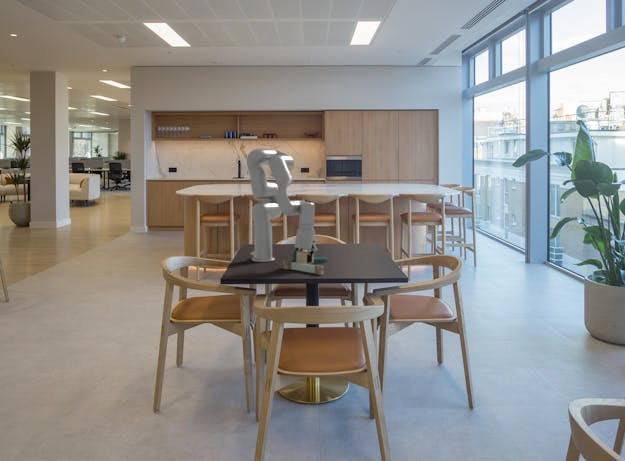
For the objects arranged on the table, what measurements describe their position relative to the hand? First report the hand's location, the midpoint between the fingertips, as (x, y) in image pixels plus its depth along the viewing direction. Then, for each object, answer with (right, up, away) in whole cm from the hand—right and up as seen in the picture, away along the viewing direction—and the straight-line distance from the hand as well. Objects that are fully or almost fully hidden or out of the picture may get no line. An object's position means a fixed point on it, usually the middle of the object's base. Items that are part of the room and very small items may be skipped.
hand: (305, 261), depth 297 cm
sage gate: (0, -4, -12) cm, 12 cm away
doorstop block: (0, -1, 0) cm, 1 cm away
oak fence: (-1, -4, -11) cm, 12 cm away
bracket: (+3, -1, +16) cm, 16 cm away
